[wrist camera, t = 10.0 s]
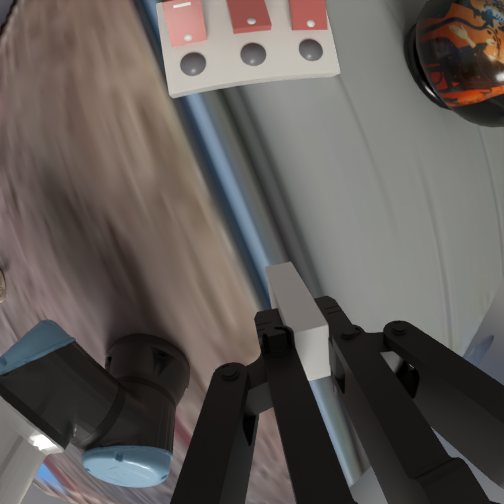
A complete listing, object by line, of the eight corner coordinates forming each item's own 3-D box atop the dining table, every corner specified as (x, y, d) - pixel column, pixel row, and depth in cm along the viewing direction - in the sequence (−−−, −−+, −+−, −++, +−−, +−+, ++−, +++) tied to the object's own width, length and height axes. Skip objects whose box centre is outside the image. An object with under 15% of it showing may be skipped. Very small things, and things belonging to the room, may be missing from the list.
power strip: (172, 98, 36) (169, 94, 33) (159, 11, 32) (155, 3, 29) (332, 76, 37) (340, 72, 34) (313, -6, 32) (319, -15, 29)
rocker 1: (172, 41, 32) (171, 47, 31) (163, -1, 26) (161, 3, 25) (206, 34, 32) (207, 40, 31) (199, -8, 27) (200, -6, 25)
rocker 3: (288, 30, 32) (294, 30, 30) (283, -12, 28) (289, -15, 26) (320, 29, 32) (328, 29, 30) (316, -12, 28) (323, -15, 26)
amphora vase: (391, -11, 32) (503, -76, 6) (481, 42, 35) (593, 29, 9) (381, 99, 39) (536, 83, 13) (475, 141, 42) (603, 167, 16)
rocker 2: (233, 40, 31) (233, 28, 28) (225, 4, 30) (225, -8, 27) (269, 36, 31) (271, 24, 28) (259, 1, 30) (260, -11, 28)
